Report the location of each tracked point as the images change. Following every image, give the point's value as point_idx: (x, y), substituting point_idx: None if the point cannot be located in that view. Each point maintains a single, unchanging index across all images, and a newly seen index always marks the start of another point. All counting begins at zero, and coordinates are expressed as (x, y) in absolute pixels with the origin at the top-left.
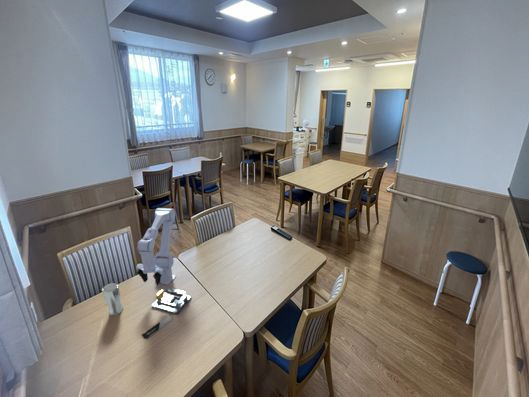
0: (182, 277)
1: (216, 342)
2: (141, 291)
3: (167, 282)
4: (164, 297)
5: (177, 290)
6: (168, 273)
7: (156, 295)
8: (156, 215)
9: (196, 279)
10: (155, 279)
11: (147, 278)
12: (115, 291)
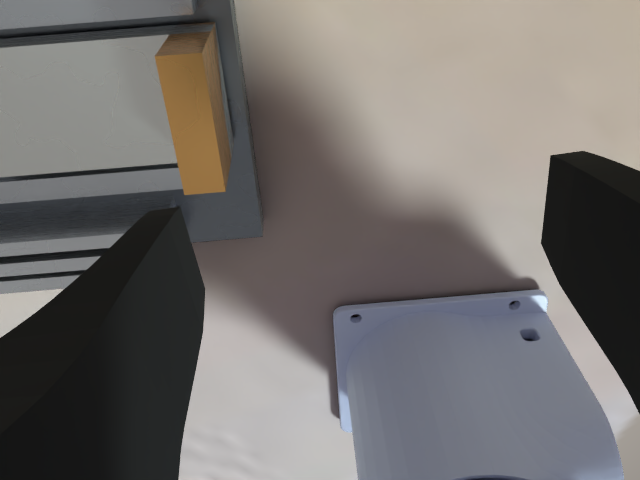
0: (262, 437)
1: None
2: (616, 86)
3: (360, 332)
4: (103, 94)
5: (23, 278)
6: (364, 461)
7: (204, 47)
8: None
9: None
10: (78, 324)
11: (558, 272)
12: None
